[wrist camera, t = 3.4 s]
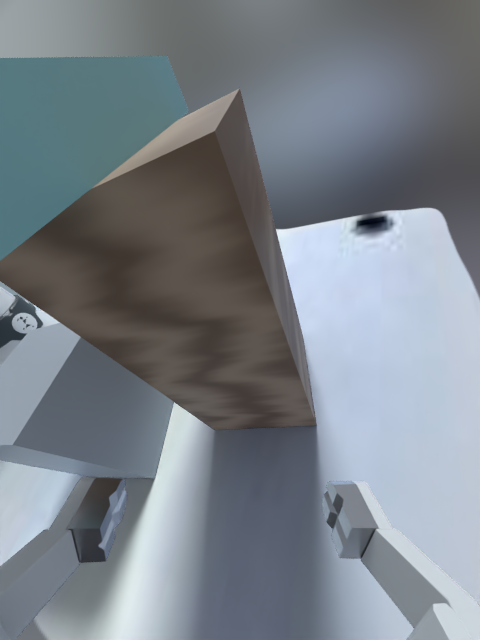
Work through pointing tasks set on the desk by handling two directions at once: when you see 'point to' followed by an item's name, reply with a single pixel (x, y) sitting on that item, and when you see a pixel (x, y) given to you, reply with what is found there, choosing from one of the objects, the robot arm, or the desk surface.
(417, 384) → the desk surface
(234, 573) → the desk surface
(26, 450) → the slate base
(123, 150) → the teal bar
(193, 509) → the desk surface
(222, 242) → the walnut pedestal
